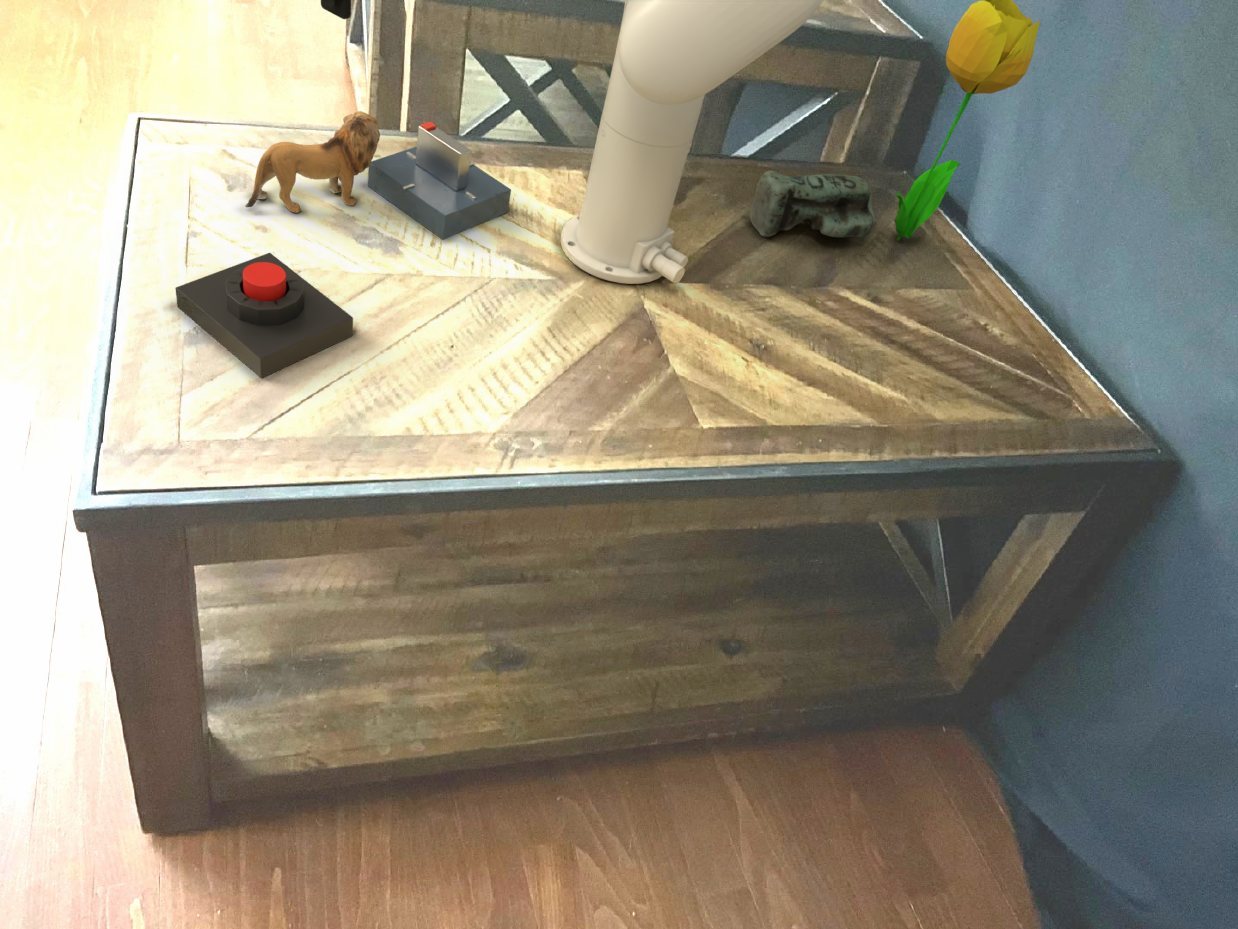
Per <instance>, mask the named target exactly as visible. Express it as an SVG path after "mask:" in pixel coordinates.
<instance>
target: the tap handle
mask: <svg viewBox="0 0 1238 929" xmlns="http://www.w3.org/2000/svg"><path fill="white" fill-rule="evenodd" d="M416 142H417V143H416V147H417V152H416V164H417V165H419V166H420V167H422V168H423V169H425V170H426V171H428V172H429V173H431V174H432V175H433V176H435V177H436V178H438V179H439V180H441V181H442V182H444V183H445V184H447V185H448V186H450V187H451V188H453V189H454V190H455V191H458V190H461V189H463V188H466V187H467V180H468V172H469V164H470V162H471V155H472V149H470V148H469V147H467V146H466V145H464V144H462V143H461V142H459V141H458V140H456V139H455V138H453V137H452V136H450V135H449V134H448V133H446V132H444V131H443V130H441V129H440V128H439V127H437V125H436V124H434V123H433V122H431V121H427V122H424V123H421V124H420V125H418V130H417V141H416Z"/></svg>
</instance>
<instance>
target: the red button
mask: <svg viewBox="0 0 1238 929" xmlns="http://www.w3.org/2000/svg"><path fill="white" fill-rule="evenodd" d="M243 289H244V293H245V294H246V295H247V296H248V297H249V298H251V299H255V300H259V301H275V300H278V299H280V298H282V297H283V296H284V295H285V293H286V273H285V271H284V270H283V269H282V268H281V267H280V266H278V265H276V264H273V263H268V262H258V263H253V264H250V265H249V266H247V267H246V268H245V269H244V271H243Z"/></svg>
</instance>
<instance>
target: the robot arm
mask: <svg viewBox="0 0 1238 929" xmlns="http://www.w3.org/2000/svg"><path fill="white" fill-rule="evenodd" d="M823 2H824V0H625V2H624V7H623V11H622V12H623V13H622V17H621V18H622V19H621V24H620V30H619V34H618V38H617V44H616V50H615V53H614V57H613V58H614V59H613V62H612V68H611V71H610V76H609V81H608V86H607V90H606V95H605V99H604V104H603V109H602V112H601V117H600V121H599V126H598V131H597V135H596V139H595V144H594V149H593V154H592V157H591V158H592V159H591V163H590V167H589V172H588V176H587V180H586V186H585V190H584V196H583V200H582V205H581V209H580V214H577V215H575V216H573V217H571V218H570V219H569V220H568V221H567V222H565V224H564V225H563V227H562V231H561V235H560V245H561V249H562V251H563V253H564V254H565V256H566V257H567V258H568V259H569V260H570V262H572V264H574V265H575V266H577V268H579V269H580V270H582V271H584V272H586V274H589V275H591V276H594V277H596V278H598V279H601V280H604V281H609V282H613V283H617V284H626V285H640V284H645V283H646V284H647V283H651V282H653V281H656V280H658V279H660V278H661V277H663V278H664V279H665V278H666V279H667V280H668V281H670V282H671V283H673V284H678V283H679V282H680V281H682V279H683V277H684V275H685V272H686V269H685V267H686V265H687V264H688V262H689V257H688V256H687V255H685V254H683V253H682V252H680V251H678V250H676V249H674V246H673V244H672V242H673V238H674V236H675V231H674V230H673V229H672V228H670V227H669V226H668V224H669V221H670V217H671V214H672V210H673V207H674V203H675V200H676V196H677V193H678V189H679V186H680V182H681V178H682V177H683V172H684V169H685V165H686V163H687V158H688V155H689V151H690V148H691V144H692V140H693V138H694V135H695V132H696V129H697V126H698V122H699V118H700V115H701V111H702V109H703V108H702V107H703V104H704V100H705V96H706V94H708V93H709V92H712V91H713V90H715V89H716V88H718V87H719V86H720V85H722V84H723V83H725V82H726V81H728V80H729V79H730V78H732V77H733V76H735V75H736V74H737V73H739V72H740V71H742V70H743V69H745V68H746V67H747V66H749V65H750V64H752V63H753V62H755V61H756V60H757V59H759V58H760V57H761V56H763V55H764V54H766V53H767V52H769V51H770V50H771V49H772V48H774V47H776V46H777V45H778V44H779V43H782V41H784V40H785V39H787V38H788V37H789V36H790V35H792V34H794V32H796V31H797V30H798V29H799V28H801V27H802V26H803V25H804V24H805V23H806V22H807V21H808V20H809V19H810V18H811V17H812V16H813V15H814V14H815V12H816V11H818V9H819V7H820V5H822V3H823ZM320 6H321V8H322V9H323V10H325V11H327V12H329V13H331V14H333V15H335V17H338V18H340V19H342V20H347V19H350V17H351V16H352V0H320Z"/></svg>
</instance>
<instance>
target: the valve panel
mask: <svg viewBox="0 0 1238 929" xmlns="http://www.w3.org/2000/svg"><path fill="white" fill-rule="evenodd" d="M416 152H417V146H414V147H411V148H407V149H404V150H402V151H399V152H396V153H393V154H389V155H386V156H384V157H380V158H378V159H375V160H372V161H371V163H370V166H369V167H368V173H367V174H368V175H367V187H368V188H369V189H372V190H373V191H374V192H375V193H377V194H378V195H379V196H381V197H382V198H384V199H385V200H386V201H388V202H390V203H391V204H392V205H394V206H395V207H396V208H398V209H399V210H401V212H403V213H405V214H406V215H408V216H410V218H412V219H413V220H415V221H416V222H417V223H419V224H420V225H422V226H423V227H424V228H426V229H427V230H428V231H430V232H431V233H433V234H435V236H437V237H438V238H440V239H441V240H444V239H445V240H446V239H448V238H450V237H452V236H455V235H457V234H460V233H461V232H464V231H467V230H469V229H471V228H474V227H476V226H478V225H481V224H484V223H486V222H488V221H490V220H493V219H496V218H498V217H500V216H502V215H505V214H507V213H508V212H509V206H510V199H511V193H512V189H511V188H509V187H508V186H507V185H505V184H504V183H503V182H501V181H500V180H498V179H496V178H495V177H493V176H492V175H490V174H488V173H487V172H485V171H484V170H483V169H481V168H480V167H479V166H477V164H478V163H477V162H476V161H475V160H474V161H470V164H469V172H468V180H467V187H466V188H463V189H461V190H458V191H455V190H454V189H453V188H451V187H450V186H448V185H447V184H445V183H444V182H442V181H441V180H439V179H438V178H436V177H435V176H433V175H432V174H431V173H429V172H428V171H426V170H425V169H423V168H422V167H420V166H419V165H417V164H416Z"/></svg>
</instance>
